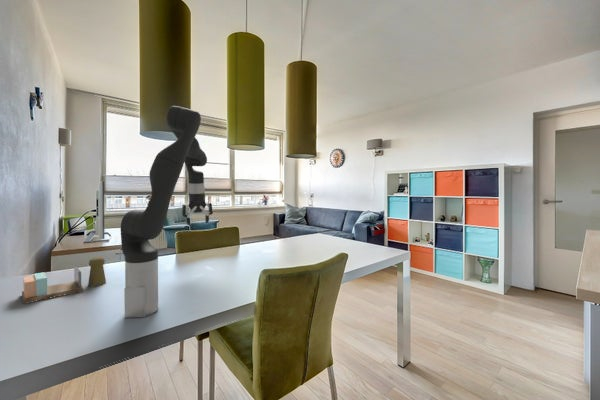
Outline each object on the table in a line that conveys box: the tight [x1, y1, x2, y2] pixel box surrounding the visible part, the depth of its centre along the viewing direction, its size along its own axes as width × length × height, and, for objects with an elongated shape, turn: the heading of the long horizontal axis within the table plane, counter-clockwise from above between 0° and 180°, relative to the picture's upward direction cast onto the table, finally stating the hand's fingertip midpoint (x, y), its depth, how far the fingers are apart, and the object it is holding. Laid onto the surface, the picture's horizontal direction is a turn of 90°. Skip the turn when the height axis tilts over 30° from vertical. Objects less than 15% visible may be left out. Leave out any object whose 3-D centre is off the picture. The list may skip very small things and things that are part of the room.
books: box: [22, 271, 48, 298], centre depth 96 cm, size 6×9×6 cm, turn 49°
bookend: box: [73, 266, 82, 287], centre depth 105 cm, size 1×9×6 cm, turn 48°
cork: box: [87, 256, 107, 287], centre depth 110 cm, size 6×6×11 cm
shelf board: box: [21, 280, 84, 304], centre depth 100 cm, size 16×11×2 cm
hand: (198, 223), depth 134 cm, fingers open, 8 cm apart
